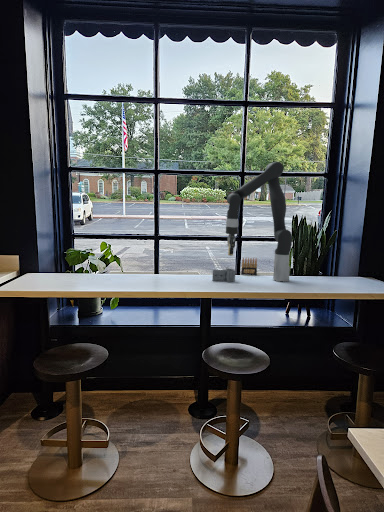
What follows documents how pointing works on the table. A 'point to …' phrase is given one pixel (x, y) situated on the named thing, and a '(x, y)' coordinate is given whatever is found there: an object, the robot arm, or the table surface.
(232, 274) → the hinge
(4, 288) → the table surface
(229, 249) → the hinge pin
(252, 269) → the ammunition clip
